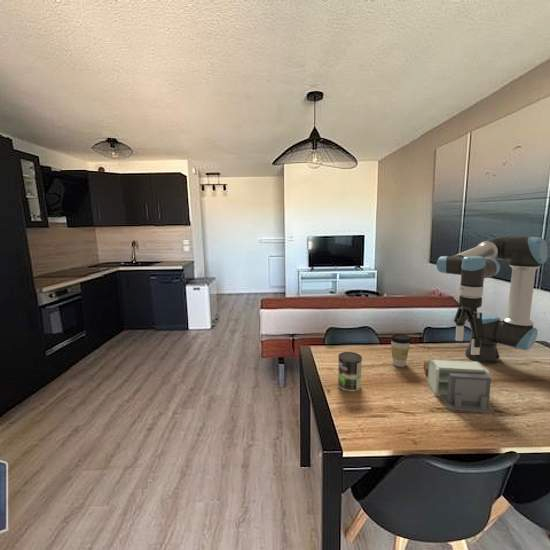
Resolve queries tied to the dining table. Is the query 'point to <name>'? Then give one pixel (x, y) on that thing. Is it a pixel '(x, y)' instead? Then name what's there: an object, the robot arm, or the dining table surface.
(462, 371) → the cabinet
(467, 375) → the grey rectangular panel
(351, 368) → the coffee can
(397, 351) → the coffee cup
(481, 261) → the robot arm
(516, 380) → the dining table surface
